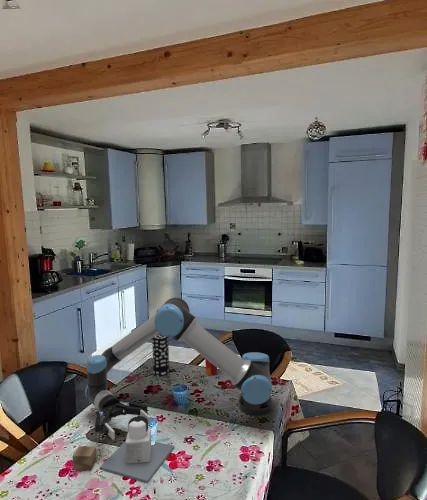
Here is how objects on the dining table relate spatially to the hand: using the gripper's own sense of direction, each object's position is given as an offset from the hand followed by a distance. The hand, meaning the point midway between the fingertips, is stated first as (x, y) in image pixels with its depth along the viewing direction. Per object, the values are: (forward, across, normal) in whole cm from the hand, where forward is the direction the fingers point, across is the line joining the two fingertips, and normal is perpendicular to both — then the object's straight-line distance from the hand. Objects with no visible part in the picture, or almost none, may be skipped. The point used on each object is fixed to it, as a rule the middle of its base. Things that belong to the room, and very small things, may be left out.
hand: (132, 428), depth 124 cm
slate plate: (+3, 0, -10) cm, 10 cm away
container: (+3, -1, -9) cm, 9 cm away
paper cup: (-33, -62, -10) cm, 70 cm away
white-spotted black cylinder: (-50, -41, -10) cm, 66 cm away
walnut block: (-5, +15, -10) cm, 19 cm away
